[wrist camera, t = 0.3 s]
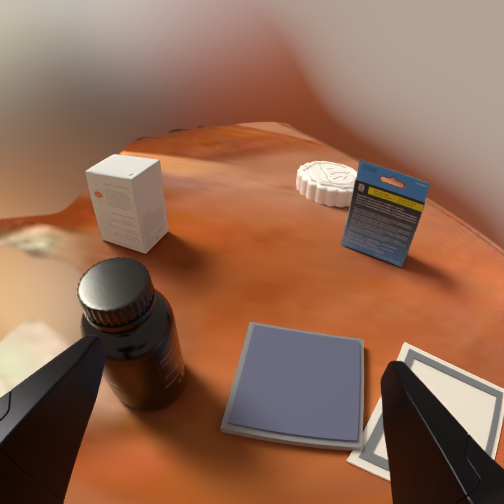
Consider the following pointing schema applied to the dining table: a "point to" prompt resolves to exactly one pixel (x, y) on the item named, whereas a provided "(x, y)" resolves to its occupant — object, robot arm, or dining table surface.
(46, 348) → the dining table surface
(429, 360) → the marked card
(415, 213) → the label tape cartridge
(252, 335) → the pad
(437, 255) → the dining table surface
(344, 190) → the mooncake
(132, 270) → the supplement bottle
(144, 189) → the small box
